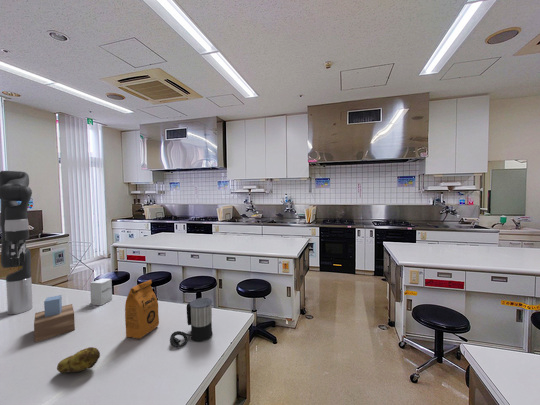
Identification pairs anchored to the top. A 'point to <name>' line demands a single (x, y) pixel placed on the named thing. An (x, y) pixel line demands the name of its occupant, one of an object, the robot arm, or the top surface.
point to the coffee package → (141, 310)
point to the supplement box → (101, 291)
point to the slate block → (53, 305)
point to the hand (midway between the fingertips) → (18, 264)
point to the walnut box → (53, 323)
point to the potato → (79, 361)
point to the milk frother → (196, 322)
